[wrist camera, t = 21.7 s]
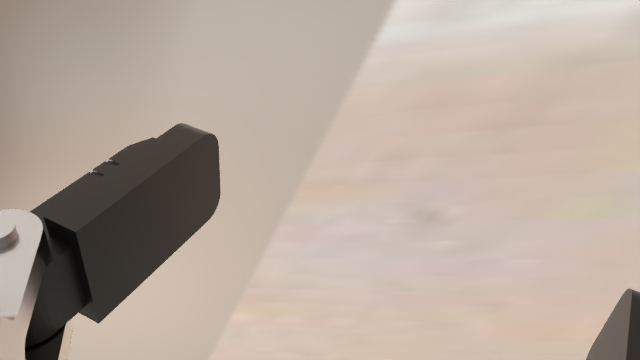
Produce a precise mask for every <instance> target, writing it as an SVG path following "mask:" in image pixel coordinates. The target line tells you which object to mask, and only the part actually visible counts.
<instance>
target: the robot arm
mask: <svg viewBox="0 0 640 360" xmlns="http://www.w3.org/2000/svg"><path fill="white" fill-rule="evenodd" d="M219 199H220V171H219V146H218V140H217V138H216V136H215V135H213V134H211V133H208V132H205V131H203V130H200V129H197V128H194V127H192V126H189V125H187V124H183V123H181V124H177V125H175V126H174V127H172V128H171V129H169V130H168V131H167V132H165V133H164V134H163V135H161V136H159V137H158V138H151V139H148V140H144V141H141V142H138V143H135V144H133V145H130V146H127V147H126V148H125V149H123V150H121V151H120V152H118V153H117V154H115V155H114V156H113V157H111V158H109V161H108V162H104V163H102V164H101V165H99V166H98V167H96V168H95V169H93V172H92V173H90V172H89V173H87V174H86V175H84V176H83V177H81V178H80V179H78V180H77V181H75V182H74V183H72V184H71V185H69V186H68V187H66V188H65V189H63V190H62V191H60V192H59V193H57V194H56V195H54V196H53V197H51V198H50V199H48V200H47V201H45V202H44V203H42V204H41V205H40V206H38V207H36V208H35V209H33V210H32V211H30V212H28V211H24V210H18V209H6V210H0V360H67V357H68V352H69V348H70V343H71V338H72V332H73V327H72V322H71V319H72V317H74V316H75V315H76V314H77V313H78V312H79V313H81V314H82V315H84V316H86V317H88V318H90V319H92V320H93V321H95V322H97V323H100V322H101V321H102V320H103V319H104V318H105V317H106V316H107V315H108V314H109V313H110V312H111V311H113V310H114V308H116V307H117V306H118V305H119V304H120V303H121V302H122V301H123V300H124V299H125V298H126V297H127V296H129V295H130V294H131V293H132V292H133V291H134V290H135V289H136V288H137V287H138V286H139V285H140V284H141V283H142V282H143V281H144V280H146V279H147V278H148V276H150V275H151V274H152V273H153V272H154V271H155V270H156V269H157V268H158V267H159V266H160V265H161V264H162V263H164V262H165V261H166V260H167V259H168V258H169V257H170V256H171V255H172V254H173V253H174V252H175V251H176V250H177V249H178V248H179V247H181V246H182V244H184V243H185V242H186V241H187V240H188V239H189V238H190V237H191V236H192V235H193V234H194V233H195V232H197V231H198V230H199V228H201V227H202V226H203V225H204V224H205V223H206V222H207V221H208V220H209V219H210V218H211V216H212V215H213V214H214V212H215V210H216V208H217V205H218V202H219ZM586 360H640V292H637V291H635V290H632V289H627V290H626V291H625V292H624V294H623V295H622V297H621V298H620V300H619V302H618V303H617V305H616V307H615V308H614V310H613V312H612V313H611V315H610V317H609V318H608V320H607V322H606V323H605V325H604V327H603V328H602V330H601V332H600V333H599V335H598V337H597V338H596V340H595V342H594V343H593V345H592V347H591V349H590V351H589V354H588V356H587V358H586Z"/></svg>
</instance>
